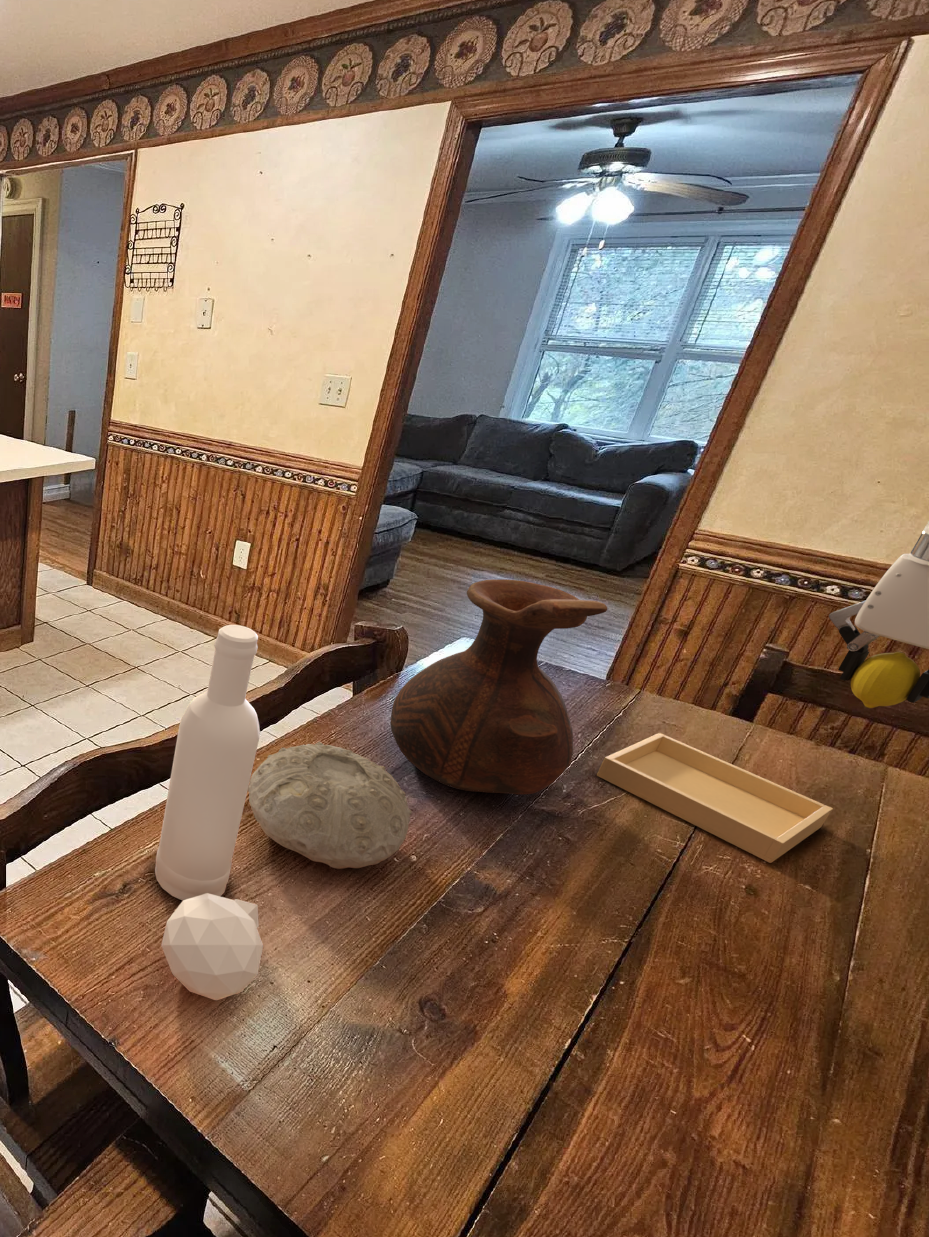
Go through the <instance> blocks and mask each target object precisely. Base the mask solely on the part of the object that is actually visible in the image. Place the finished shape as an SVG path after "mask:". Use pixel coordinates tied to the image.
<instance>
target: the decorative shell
mask: <svg viewBox="0 0 929 1237" xmlns="http://www.w3.org/2000/svg"><path fill="white" fill-rule="evenodd" d="M247 793H248V802H249V806H250V808H251V810H252V813H253V817H254V819H255V820H256V823H258V824H259V826H260V828H261V831H262V832H263V833H264V834H265V835H266V836H267V837H269V838H270V839H271V840H273V841H274V842H275V843H276V844H278V845H280V846H282V847H283V848H285V849H288V850H291V851H292V852H293V851H294V852H296V853H298V854H299V855H302V856H303V857H305V858H307V859H309V860H311V861H312V862H318V863H323V864H325V865H327V866H329V867H330V868H333V869H338V870H339V869H347V868H352V869H360V868H361V869H362V868H364V867H368V866H371V865H372V866H375V865H378V864H379V863H381V862H384V861H386V860H387V859H389V858H390V857H392V856H393V855H394V854H395V853H397V852H398V851H399V850H400V848H401V846H402V845H403V843H404V841H405V840H406V836H407V834H408V831H409V824H410V822H411V818H410V817H411V815H412V813H413V811H412V810H411V809H410V808H409V806H408V800H407V796H406V792H405V791H404V790H403V789H402V788H401V787H400V785H399V783H398V782H397V781H396V779H395V778H394V777H393V775H392V774H390V773H389V772H388V771H387V770H386V766H385V765H378V764H377V763H376V762H374V761H371V759H369V758H367V757H365V756H362V755H360V754H358V753H356V752H353V751H352V750H351V749H346V748H343V747H340V746H334V745H331V744H324V743H322V742H321V741H318V742H316V743H315V744H313V743H307V744H300V745H296V746H290V747H287V748H286V747H280V749H279V750H278V752H276V753H273V754H268V755H267V758H266V759H265V760H264V761H263V762H261V763H260V765H258V767H256V769H255V771H254V772H253V773H251V777H250V782H249V786H248V791H247Z"/></svg>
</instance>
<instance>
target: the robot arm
mask: <svg viewBox="0 0 929 1237" xmlns="http://www.w3.org/2000/svg"><path fill="white" fill-rule="evenodd" d="M854 616H855V619H854V624H853V622H852V621H851V617H854ZM828 618H829V620H830V621H831V622H832V625H834V626H835V628H836V629H837V630H838V634H839V635H840V636H841V638H842V640H843V641H844V643H845V644H846V649H847V650H848V651H847V653H846V655H845V656H844V658H843V660H842V661H841V664H840V665H839V666H838V668H837V670H838V671H839V672H842V673H841V675H840V677H839V681H843V682H845V681H848V682H849V680H850V681H851V678H852V676H853V673H854V672H855V670H856V669H857V668H858V667H859V666H860V665H861V664H862V663H863V662H864V661H865V660H866V659H868V656H869V654H870V651H869V645H870V644H871V643H873V642H874V641H875V640H877V639H878V638H879V637H882V638H886V639H890V640H894V641H896V642H901V643H905V644H908V645H912V646H916V647H918V648H922V649H927V650H929V520H928V521H927V523H926V525H925V527H924V528H923V530H922V532H921V534H920V536H919V537H918V539H917V541H916V542H915V544H914V546H913V548H912V550H911V551H910V553H903V554H901V555H900V556H899V557H898V558H897V559H896V560H895V561H894V562H893V563H892V564H891V566H890V567H889V568H888V569H887V571H886V572H885V573H884V574H883V576H882V577H881V578H880V579H879V581H878V582H877V583H876V585H875V586H874V588H873V589H872V591H871V592H870V594H869V595H868V597H867V598H866V600H864V601H861V602H857V603H855V604H853V605H850V606H847V607H844V608H841V609H838V610H836V611H835V610H834V611H833V612H830V613H829V614H828ZM858 628H859V629H860V630H862V631H863V632H860V631H859V630H858ZM922 698H925V699H929V669H927V670H925V671H924V672H922V673H921V674H920V678H919V679H918V681H917V683H916V684H915V686H914V687H913V689H912V691H911V692H910V694H909V695H908V697H907V699H906V700H905V701H907V702H909V703H913V704H914V703H916V702H918V701H920V700H921V699H922Z"/></svg>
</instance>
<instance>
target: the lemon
mask: <svg viewBox="0 0 929 1237" xmlns="http://www.w3.org/2000/svg"><path fill="white" fill-rule="evenodd" d="M920 676H921V669H920V667H919V666H918V664H917V663H916V661H914V660H913V659H912V658H911V657H909V656H907V655H906V653H905V652H903V651H895V652H883V653H878V654H874V655H872V656H870V657H867V658H866V659H865V661H864V662H863V663H862V664H861V665H860V666H859V667H858V668H857V669H856V670H855V672H854V673H853V676H852V678H851V679H850V688H851V689H850V690H851V692H852V694H853V695H854V696H855V697H856V698H857V699H858V700H859V701H861V702H862V703H863V705H864V707H865V708H868V709H873V708H877V707H889V706H895V705H898V704H900V703H903V702H904V701H907V700H906V699H907V697H908V695H909V694H910V692H911V691H912V689H913V687H914V686H915V684H916V683H917V681H918V679H919V678H920Z"/></svg>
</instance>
